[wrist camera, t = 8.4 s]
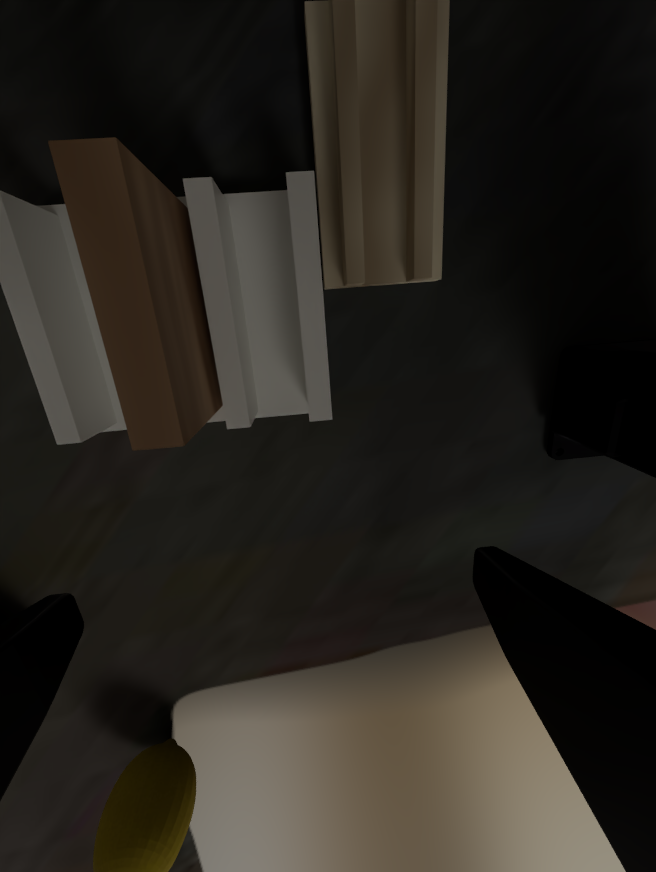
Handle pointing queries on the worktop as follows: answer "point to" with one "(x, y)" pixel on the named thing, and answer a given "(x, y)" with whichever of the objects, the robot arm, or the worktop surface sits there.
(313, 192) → the rack
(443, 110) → the stand
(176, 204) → the board
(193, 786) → the lemon
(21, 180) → the worktop surface
